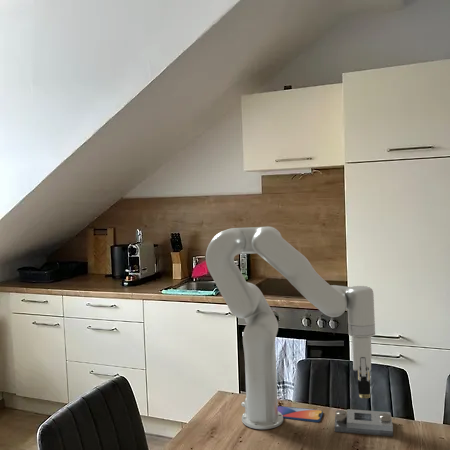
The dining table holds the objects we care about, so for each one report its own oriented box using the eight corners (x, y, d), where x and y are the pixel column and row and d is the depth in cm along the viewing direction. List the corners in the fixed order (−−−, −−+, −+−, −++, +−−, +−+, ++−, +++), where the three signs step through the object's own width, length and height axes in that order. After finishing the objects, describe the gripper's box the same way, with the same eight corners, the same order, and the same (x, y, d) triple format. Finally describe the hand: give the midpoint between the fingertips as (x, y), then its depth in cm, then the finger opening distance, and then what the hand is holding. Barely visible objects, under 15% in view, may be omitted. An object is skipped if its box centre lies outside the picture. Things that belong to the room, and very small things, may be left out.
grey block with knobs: (334, 431, 143) (334, 418, 142) (335, 417, 151) (335, 405, 151) (392, 436, 139) (392, 423, 138) (390, 422, 147) (390, 409, 147)
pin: (356, 396, 145) (355, 362, 144) (363, 393, 146) (362, 360, 146) (365, 399, 142) (364, 365, 142) (372, 396, 144) (371, 362, 143)
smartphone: (276, 408, 161) (276, 405, 161) (323, 413, 155) (323, 410, 155) (271, 418, 154) (271, 415, 154) (319, 423, 148) (319, 420, 148)
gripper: (348, 321, 152) (351, 380, 153) (347, 337, 136) (350, 402, 137) (373, 322, 150) (376, 381, 151) (376, 337, 134) (379, 403, 135)
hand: (364, 390), depth 144 cm, fingers closed on pin, 3 cm apart
